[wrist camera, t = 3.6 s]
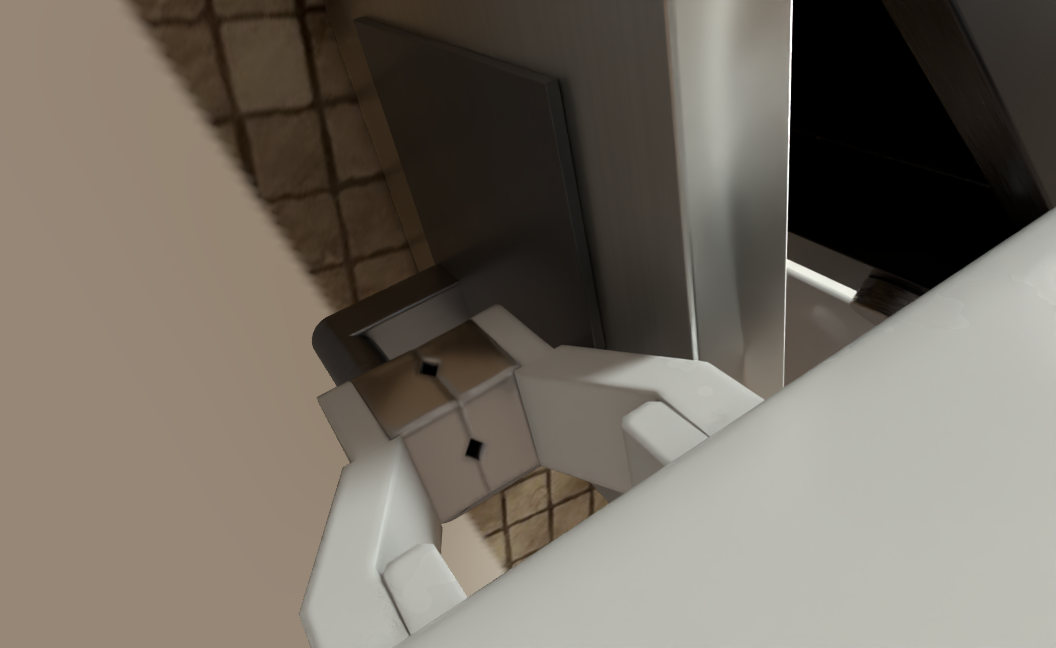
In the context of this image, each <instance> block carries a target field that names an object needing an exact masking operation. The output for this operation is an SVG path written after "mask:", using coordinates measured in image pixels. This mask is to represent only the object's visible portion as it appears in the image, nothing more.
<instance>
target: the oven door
mask: <svg viewBox="0 0 1056 648" xmlns="http://www.w3.org/2000/svg"><path fill="white" fill-rule="evenodd" d="M322 1H323V3H324V6H325V9H326V12H327V15H328V17H329V20H330V23H331V26H332V29H333V32H334V34H335V37H336V40H337V43H338V46H339V49H340V51H341V54H342V57H343V60H344V63H345V65H346V68H347V71H348V74H349V77H350V80H351V82H352V85H353V88H354V91H355V94H356V96H357V99H358V102H359V105H360V108H361V111H362V113H363V116H364V119H365V122H366V125H367V128H368V130H369V133H370V136H371V139H372V142H373V144H374V147H375V150H376V153H377V156H378V159H379V161H380V164H381V167H382V170H383V173H384V175H385V178H386V181H387V184H388V187H389V190H390V192H391V195H392V198H393V201H394V204H395V207H396V209H397V212H398V215H399V218H400V221H401V223H402V226H403V229H404V232H405V235H406V238H407V240H408V243H409V246H410V249H411V252H412V254H413V257H414V260H415V263H416V266H417V269H418V271H419V273H417V274H415V275H413V276H411V277H409V278H406V279H404V280H402V281H400V282H398V283H396V284H394V285H392V286H390V287H388V288H386V289H384V290H382V291H380V292H378V293H375V294H373V295H371V296H369V297H367V298H365V299H363V300H361V301H359V302H357V303H355V304H353V305H351V306H349V307H347V308H345V309H342V310H340V311H338V312H336V313H334V314H332V315H330V316H328V317H326V318H325V319H323V320H322V321H321V322H320V323H319V324H318V325H317V326H316V328H315V330H314V332H313V336H312V345H313V348H314V350H315V352H316V353H317V355H318V357H319V358H320V360H321V361H322V363H323V365H324V366H325V368H326V370H327V371H328V373H329V374H330V376H331V378H332V379H333V381H334V382H335V384H336V386H339V385H341V384H343V383H345V382H347V381H349V382H350V380H351V379H353V378H355V377H357V376H359V375H361V374H363V373H365V372H367V371H369V370H371V369H373V368H375V367H377V366H379V365H381V364H383V363H385V362H387V361H389V360H391V359H393V358H396V357H398V356H400V355H402V354H404V353H406V352H408V351H410V350H413V349H415V348H417V347H419V346H421V345H423V344H424V343H426V342H428V341H430V340H432V339H434V338H436V337H438V336H439V335H441V334H443V333H445V332H447V331H449V330H451V329H453V328H454V327H456V326H458V325H460V324H462V323H464V322H466V321H468V319H469V318H471V317H473V316H475V315H476V314H478V313H480V312H482V311H484V310H485V309H487V308H489V307H491V306H492V305H494V304H499V305H502V306H503V307H504V308H506V309H507V310H508V311H509V312H510V313H512V314H513V315H514V316H515V317H516V318H518V319H519V320H520V321H521V322H522V323H524V324H525V325H526V326H527V327H528V328H530V329H531V330H532V331H533V332H534V333H536V334H537V335H538V336H539V337H540V338H542V339H543V340H544V341H545V342H546V343H548V344H549V345H550V346H551V347H552V348H554V349H555V348H557V347H559V346H560V345H569V346H578V347H586V348H594V349H603V350H611V351H620V352H628V353H636V354H645V355H653V356H662V357H670V358H678V359H687V360H695V361H704V362H709V363H710V364H712V365H713V366H715V367H716V368H718V369H719V370H721V371H722V372H724V373H725V374H727V375H728V376H730V377H731V378H733V379H734V380H736V381H737V382H739V383H740V384H742V385H743V386H745V387H746V388H748V389H749V390H751V391H752V392H754V393H755V394H757V395H758V396H759V397H761V398H762V399H764V400H766V399H767V398H769V397H770V396H772V395H773V394H775V393H776V392H778V391H779V390H781V389H782V388H784V358H785V313H786V269H787V224H788V180H789V135H790V91H791V46H792V2H793V0H322ZM540 466H541V465H540V464H538V465H536V466H534V467H533V468H531V469H529V470H528V471H526V472H524V473H522V474H521V475H519V476H517V477H515V478H514V479H512V480H510V481H509V482H507V483H505V484H503V485H502V486H500V487H498V488H497V489H495V490H493V491H491V492H490V493H488V494H487V495H485V496H484V497H482V498H481V499H479V500H477V501H476V502H474V503H473V504H471V505H470V506H468V507H467V508H465V509H464V510H462V511H461V512H459V513H458V514H456V515H455V516H453V517H451V518H450V519H448V520H447V521H445V522H444V523H447V522H450V521H452V520H454V519H456V518H458V517H459V516H461V515H463V514H464V513H466V512H468V511H469V510H471V509H472V508H474V507H476V506H477V505H479V504H481V503H482V502H484V501H485V500H487V499H489V498H490V497H492V496H493V495H495V494H497V493H498V492H500V491H501V490H503V489H505V488H506V487H508V486H510V485H511V484H513V483H514V482H516V481H518V480H519V479H521V478H522V477H524V476H526V475H527V474H529V473H530V472H532V471H534V470H535V469H537V468H539V467H540ZM590 483H591V482H590ZM591 484H592V485H593V486H594V487H595V488H596V489H597V490H598V491H599V493H600V494H601V495H602V496H603V497H604V498H605V499H606V500H607V501H608V502H609V503H610V502H612V501H613V500H615V499H616V498H618V497H619V496H621V495H622V494H624V493H621V492H618V491H615V490H612V489H609V488H606V487H603V486H600V485H597V484H594V483H591Z"/></svg>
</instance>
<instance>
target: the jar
mask: <svg viewBox="0 0 1056 648" xmlns="http://www.w3.org/2000/svg"><path fill="white" fill-rule="evenodd" d="M856 292H857V291H855V290H853V289H851V288H849V287H846V286H844V285H842V284H840V283H838V282H836V281H833V280H831V279H829V278H827V277H825V276H823V275H820V274H818V273H816V272H814V271H812V270H810V269H807V268H805V267H803V266H801V265H799V264H797V263H794V262H792V261H790V260H788V259H787V269H786V313H785V358H784V387H785V386H787V385H789V384H790V383H791V382H793V381H794V380H796V379H797V378H799V377H800V376H802V375H803V374H805V373H806V372H808V371H809V370H811V369H812V368H814V367H815V366H817V365H818V364H820V363H821V362H823V361H824V360H826V359H827V358H829V357H830V356H832V355H833V354H835V353H836V352H838V351H839V350H841V349H842V348H844V347H845V346H847V345H848V344H850V343H851V342H853V341H854V340H856V339H857V338H859V337H860V336H862V335H863V334H865V333H866V332H868V331H869V330H871V329H872V328H874V327H875V325H874V324H872V323H871V322H869V321H868V320H866V319H865V318H863V317H862V316H860V315H859V314H858V313H857V312H855V311H854V310H853V309H852V308H851V306H850V301H851V300H852V298H853V297H854V295H855V294H856Z"/></svg>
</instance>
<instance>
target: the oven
mask: <svg viewBox="0 0 1056 648" xmlns="http://www.w3.org/2000/svg"><path fill="white" fill-rule="evenodd" d="M1054 207H1056V0H793V2H792V46H791V91H790V135H789V180H788V224H787V259H788V260H790V261H792V262H794V263H797V264H799V265H801V266H803V267H805V268H807V269H810V270H812V271H814V272H816V273H818V274H820V275H823V276H825V277H827V278H829V279H831V280H833V281H836V282H838V283H840V284H842V285H844V286H846V287H849V288H851V289H853V290H855V291H857V292H856V294H855V295H854V297H853V298H852V300H851V301H850V306H851V308H852V309H853V310H854V311H855V312H857V313H858V314H859V315H860V316H862V317H863V318H865V319H866V320H868V321H869V322H871V323H872V324H874V325H875V326H877V325H878V324H880V323H881V322H883V321H884V320H886V319H887V318H889V317H890V316H892V315H893V314H895V313H896V312H898V311H899V310H901V309H902V308H904V307H905V306H907V305H908V304H910V303H911V302H913V301H914V300H916V299H917V298H919V297H920V296H922V295H923V294H925V293H926V292H928V291H929V290H931V289H932V288H934V287H935V286H937V285H938V284H940V283H941V282H943V281H944V280H946V279H947V278H949V277H950V276H952V275H953V274H955V273H957V272H958V271H960V270H961V269H963V268H964V267H966V266H967V265H969V264H970V263H972V262H973V261H975V260H976V259H978V258H979V257H981V256H982V255H984V254H985V253H987V252H988V251H990V250H991V249H993V248H994V247H996V246H997V245H999V244H1000V243H1002V242H1003V241H1005V240H1006V239H1008V238H1009V237H1011V236H1012V235H1014V234H1015V233H1017V232H1018V231H1020V230H1021V229H1023V228H1024V227H1026V226H1027V225H1029V224H1030V223H1032V222H1033V221H1035V220H1036V219H1038V218H1039V217H1041V216H1042V215H1044V214H1045V213H1047V212H1048V211H1050V210H1051V209H1053V208H1054Z"/></svg>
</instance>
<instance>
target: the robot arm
mask: <svg viewBox="0 0 1056 648" xmlns="http://www.w3.org/2000/svg"><path fill="white" fill-rule="evenodd" d="M317 399H318V402H319V404H320V406H321V408H322V410H323V412H324V414H325V416H326V418H327V420H328V422H329V423H330V425H331V427H332V429H333V431H334V433H335V434H336V437H337V439H338V441H339V442H340V444H341V446H342V448H343V450H344V452H345V454H346V456H347V457H348V460H349V461H350V464H348V465H346V466H345V467H343V469H342V472H341V475H340V479H339V482H338V485H337V489H336V492H335V495H334V499H333V502H332V506H331V509H330V512H329V515H328V519H327V522H326V526H325V529H324V532H323V536H322V539H321V543H320V546H319V549H318V552H317V556H316V559H315V563H314V566H313V569H312V573H311V576H310V579H309V583H308V586H307V589H306V593H305V596H304V599H303V602H302V606H301V609H300V612H299V616H300V618H301V621H302V624H303V627H304V630H305V633H306V635H307V638H308V641H309V644H310V647H311V648H1056V207H1054V208H1053V209H1051V210H1050V211H1048V212H1047V213H1045V214H1044V215H1042V216H1041V217H1039V218H1038V219H1036V220H1035V221H1033V222H1032V223H1030V224H1029V225H1027V226H1026V227H1024V228H1023V229H1021V230H1020V231H1018V232H1017V233H1015V234H1014V235H1012V236H1011V237H1009V238H1008V239H1006V240H1005V241H1003V242H1002V243H1000V244H999V245H997V246H996V247H994V248H993V249H991V250H990V251H988V252H987V253H985V254H984V255H982V256H981V257H979V258H978V259H976V260H975V261H973V262H972V263H970V264H969V265H967V266H966V267H964V268H963V269H961V270H960V271H958V272H957V273H955V274H953V275H952V276H950V277H949V278H947V279H946V280H944V281H943V282H941V283H940V284H938V285H937V286H935V287H934V288H932V289H931V290H929V291H928V292H926V293H925V294H923V295H922V296H920V297H919V298H917V299H916V300H914V301H913V302H911V303H910V304H908V305H907V306H905V307H904V308H902V309H901V310H899V311H898V312H896V313H895V314H893V315H892V316H890V317H889V318H887V319H886V320H884V321H883V322H881V323H880V324H878V325H877V326H875V327H874V328H872V329H871V330H869V331H868V332H866V333H865V334H863V335H862V336H860V337H859V338H857V339H856V340H854V341H853V342H851V343H850V344H848V345H847V346H845V347H844V348H842V349H841V350H839V351H838V352H836V353H835V354H833V355H832V356H830V357H829V358H827V359H826V360H824V361H823V362H821V363H820V364H818V365H817V366H815V367H814V368H812V369H811V370H809V371H808V372H806V373H805V374H803V375H802V376H800V377H799V378H797V379H796V380H794V381H793V382H791V383H790V384H789V385H787V386H785V387H784V388H782V389H781V390H779V391H778V392H776V393H775V394H773V395H772V396H770V397H769V398H767V399H766V400H764V399H762V398H761V397H759V396H758V395H757V394H755V393H754V392H752V391H751V390H749V389H748V388H746V387H745V386H743V385H742V384H740V383H739V382H737V381H736V380H734V379H733V378H731V377H730V376H728V375H727V374H725V373H724V372H722V371H721V370H719V369H718V368H716V367H715V366H713V365H712V364H710V363H709V362H704V361H695V360H687V359H678V358H670V357H662V356H653V355H645V354H636V353H628V352H620V351H611V350H603V349H594V348H586V347H578V346H569V345H560V346H559V347H557V348H555V349H554V348H552V347H551V346H550V345H549V344H548V343H546V342H545V341H544V340H543V339H542V338H540V337H539V336H538V335H537V334H536V333H534V332H533V331H532V330H531V329H530V328H528V327H527V326H526V325H525V324H524V323H522V322H521V321H520V320H519V319H518V318H516V317H515V316H514V315H513V314H512V313H510V312H509V311H508V310H507V309H506V308H504V307H503V306H502V305H499V304H494V305H492V306H491V307H489V308H487V309H485V310H484V311H482V312H480V313H478V314H476V315H475V316H473V317H471V318H469V319H468V321H466V322H464V323H462V324H460V325H458V326H456V327H454V328H453V329H451V330H449V331H447V332H445V333H443V334H441V335H439V336H438V337H436V338H434V339H432V340H430V341H428V342H426V343H424V344H423V345H421V346H419V347H417V348H415V349H413V350H410V351H408V352H406V353H404V354H402V355H400V356H398V357H396V358H393V359H391V360H389V361H387V362H385V363H383V364H381V365H379V366H377V367H375V368H373V369H371V370H369V371H367V372H365V373H363V374H361V375H359V376H357V377H355V378H353V379H351V380H350V382H349V381H347V382H345V383H343V384H341V385H339V386H337V387H335V388H334V389H332V390H330V391H328V392H326V393H324V394H322V395H320V396H318V397H317ZM538 464H540V465H541V466H543V467H546V468H549V469H552V470H555V471H558V472H561V473H564V474H567V475H570V476H573V477H576V478H579V479H582V480H585V481H588V482H591V483H594V484H597V485H600V486H603V487H606V488H609V489H612V490H615V491H618V492H621V493H624V494H622V495H621V496H619V497H618V498H616V499H615V500H613V501H612V502H610V503H609V504H607V505H606V506H604V507H603V508H601V509H600V510H598V511H597V512H595V513H594V514H592V515H591V516H589V517H588V518H586V519H585V520H583V521H582V522H580V523H579V524H577V525H576V526H574V527H573V528H571V529H570V530H568V531H567V532H565V533H564V534H562V535H561V536H559V537H558V538H556V539H555V540H553V541H552V542H550V543H549V544H547V545H546V546H544V547H543V548H541V549H540V550H538V551H537V552H535V553H534V554H532V555H531V556H529V557H528V558H526V559H525V560H523V561H522V562H520V563H519V564H517V565H516V566H514V567H513V568H511V569H510V570H508V571H507V572H505V573H504V574H502V575H501V576H499V577H498V578H496V579H495V580H493V581H492V582H490V583H489V584H487V585H486V586H484V587H483V588H481V589H480V590H478V591H477V592H475V593H474V594H472V595H471V596H469V597H467V596H466V594H465V593H464V591H463V589H462V588H461V586H460V585H459V583H458V582H457V580H456V578H455V577H454V576H453V574H452V572H451V571H450V569H449V567H448V566H447V564H446V563H445V561H444V560H443V558H442V557H441V542H442V526H441V524H442V523H444V522H445V521H447V520H448V519H450V518H451V517H453V516H455V515H456V514H458V513H459V512H461V511H462V510H464V509H465V508H467V507H468V506H470V505H471V504H473V503H474V502H476V501H477V500H479V499H481V498H482V497H484V496H485V495H487V494H488V493H490V492H491V491H493V490H495V489H497V488H498V487H500V486H502V485H503V484H505V483H507V482H509V481H510V480H512V479H514V478H515V477H517V476H519V475H521V474H522V473H524V472H526V471H528V470H529V469H531V468H533V467H534V466H536V465H538Z"/></svg>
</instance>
